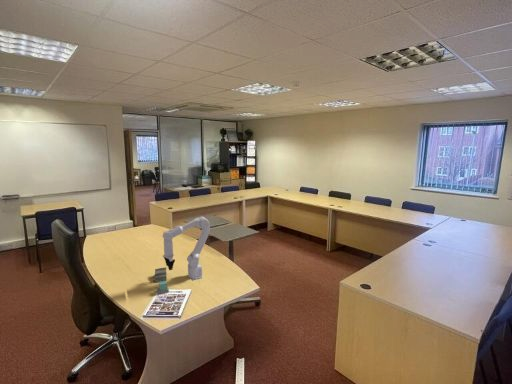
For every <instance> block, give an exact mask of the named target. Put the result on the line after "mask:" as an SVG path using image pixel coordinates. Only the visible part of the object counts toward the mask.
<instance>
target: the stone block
mask: <svg viewBox="0 0 512 384" xmlns="http://www.w3.org/2000/svg"><path fill="white" fill-rule="evenodd" d="M167 280H168V278H167V266H166V267H159V268H155V269H154V276H153V280H152V282H154V283H159V282H161V281H166V282H168V281H167Z"/></svg>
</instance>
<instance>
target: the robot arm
mask: <svg viewBox="0 0 512 384" xmlns="http://www.w3.org/2000/svg"><path fill="white" fill-rule="evenodd" d="M210 225H211V223H210V221H209V219H207V218H206V217H205V216H199V217H196V218H194V219H193V220H191V221H188V222H187V223H185V224H183V225H176V226H174V227H173V228H171V229H170V228H169V229H168V230H165V231H164V232H163V233H162V238H163V255H162V258H163V259H164V261H165V265H166V267H167V268H168V270H169V271H172V270H173V269H174V264H175V261H176V260H175V259H173V257H174V243H173V239H174V238H176V237H177V236H180V235H181V234H184V231H187V230H188V229H191V228H193V227H198V228H199V227H200V228H201V233H200V235H199V238H198V240H197V242H196V244H195V246H194V249H193V250H192V251H191V252H190V254H189V255H188V256H187V259H186V261H187V263H188V264H187V276H188V278H189V279H190V280H191V281H194V280H198V279H203V268H202V267H203V266H202V265H201V263H200V254H201V253H202V251H203V248H204V246H205V244H206V242H207V239H208V238H209V235H210V232H211V226H210Z"/></svg>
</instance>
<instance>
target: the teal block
mask: <svg viewBox="0 0 512 384" xmlns="http://www.w3.org/2000/svg"><path fill="white" fill-rule="evenodd" d="M167 284H168V283H167V281H161V282H158V287H159V289H160V291H161V290H166V289H167V287H168V285H167Z"/></svg>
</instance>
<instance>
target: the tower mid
mask: <svg viewBox="0 0 512 384" xmlns="http://www.w3.org/2000/svg"><path fill="white" fill-rule="evenodd" d="M156 291H157V293H158V295H159V296H160V295H163V294H168V293H169V292H170V290H169V288H168V286H167V289H166V290H161V291H160V289H159V286H158V287H156Z"/></svg>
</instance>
